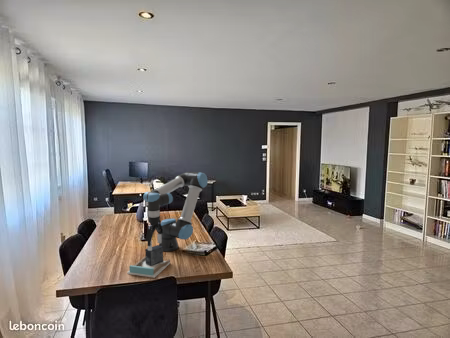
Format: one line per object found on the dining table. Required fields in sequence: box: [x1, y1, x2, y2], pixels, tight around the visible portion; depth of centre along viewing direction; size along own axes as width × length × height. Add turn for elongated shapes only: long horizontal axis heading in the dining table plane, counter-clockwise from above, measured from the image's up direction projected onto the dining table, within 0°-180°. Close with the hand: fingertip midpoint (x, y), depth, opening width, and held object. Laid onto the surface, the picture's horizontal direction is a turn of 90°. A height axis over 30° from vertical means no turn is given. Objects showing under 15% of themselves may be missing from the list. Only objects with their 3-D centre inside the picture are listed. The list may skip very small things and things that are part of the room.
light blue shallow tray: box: [126, 255, 171, 279], centre depth 185 cm, size 22×19×5 cm
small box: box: [144, 244, 164, 266], centre depth 192 cm, size 11×6×10 cm, turn 140°
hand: (154, 246), depth 191 cm, fingers open, 13 cm apart
